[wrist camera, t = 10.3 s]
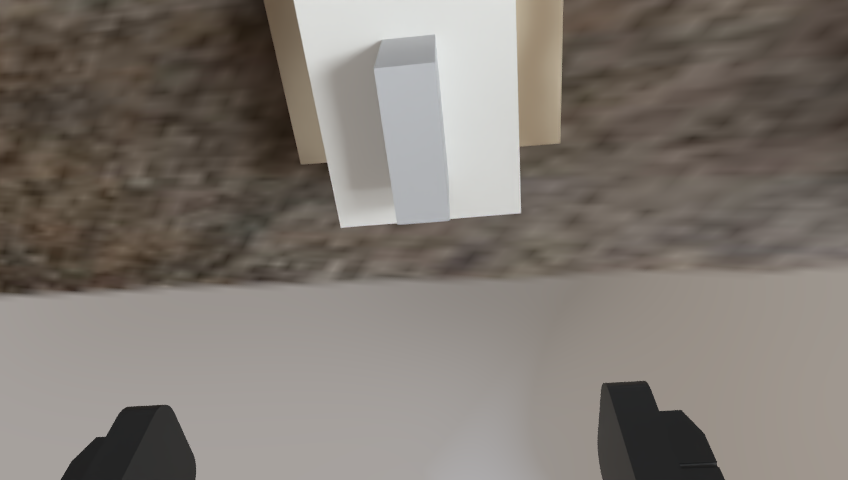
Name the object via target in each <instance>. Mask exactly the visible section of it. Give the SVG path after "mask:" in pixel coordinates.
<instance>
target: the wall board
mask: <svg viewBox="0 0 848 480" xmlns="http://www.w3.org/2000/svg"><path fill="white" fill-rule="evenodd" d="M264 4H265V9H266V13H267V17H268V22H269V26H270V31H271V35H272V40H273V44H274V48H275V53H276V57H277V62H278V66H279V70H280V75H281V79H282V84H283V88H284V92H285V97H286V101H287V106H288V110H289V114H290V119H291V123H292V128H293V132H294V136H295V141H296V145H297V150H298V154H299V159H300V163H301V165H303V164H315V163H327V159H326V154H325V149H324V144H323V140H322V135H321V130H320V125H319V120H318V116H317V111H316V106H315V101H314V96H313V92H312V87H311V82H310V77H309V72H308V68H307V63H306V58H305V53H304V48H303V44H302V39H301V34H300V29H299V24H298V20H297V15H296V10H295V5H294V0H264ZM516 32H517V72H518V112H519V147H522V146H534V145H546V144H558V143H560V133H561V85H562V37H563V0H516Z"/></svg>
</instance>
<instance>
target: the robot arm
mask: <svg viewBox="0 0 848 480" xmlns="http://www.w3.org/2000/svg"><path fill="white" fill-rule="evenodd" d="M598 456H599V464H600V469H601V474H602V478H603V480H725V479H724V477H723V475H722V472H721V470H720V468H719V467H717V461H716V459H715V457H714V454H713V452H712V450H711V448H710V446H709V443H708V441H707V439H706V437H705V434H704V433H703V432H702V431H701V430H700V429H699V428H698V427H697V426H696V425H695V424H694V423H693V422H692V421H691V420H690V419H689V418H688V417H687V416H686V415H685V414H684V413H683V412H682V410H675V411H659V410H658V407H657V405H656V402H655V399H654V396H653V394H652V391H651V389H650V387H649V385H648V383H647V382H646V381H636V382H617V383H603V385H602V389H601V399H600V413H599V427H598ZM195 477H196V463H195V459H194V455H193V453H192V451H191V448H190V446H189V444H188V442H187V440H186V438H185V435H184V433H183V431H182V429H181V426H180V424H179V422H178V420H177V418H176V415H175V413H174V411H173V410H172V408H171V407H170V406H168V405H153V406H136V407H135V406H134V407H126V408H125V409H123V410H122V411H121V412H120V413H119V415H118V417H117V418H116V420H115V422H114V423H113V425H112V427H111V429H110V431H109V432H108V434H107V436H106V437H96V438H95V439H94V440H93V441H92V442H91V443H90V444H89V445H88V446H87V447H86V448H85V449H84V450H83V451H82V452H81V453H80V454H79V455H78V456H77V457H76V458H75V459H74V460H73V461H72V462H71V463H70V465H69V467H68V468H67V470H66V472H65V473H64V475H63V477H62V478H61V480H195Z"/></svg>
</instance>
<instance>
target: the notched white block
mask: <svg viewBox="0 0 848 480" xmlns="http://www.w3.org/2000/svg"><path fill="white" fill-rule="evenodd" d="M294 5H295V10H296V15H297V20H298V24H299V29H300V34H301V39H302V44H303V48H304V53H305V58H306V63H307V68H308V72H309V77H310V82H311V87H312V92H313V96H314V101H315V106H316V111H317V116H318V120H319V125H320V130H321V135H322V140H323V144H324V149H325V154H326V159H327V164H328V168H329V173H330V178H331V183H332V188H333V192H334V197H335V202H336V207H337V212H338V216H339V221H340V226H341V228H343V227H356V226H368V225H381V224H393V223H397V225H402V224H415V223H427V222H440V221H450V219H455V218H468V217H480V216H492V215H505V214H517V213H521V193H520V153H519V112H518V72H517V32H516V0H294Z"/></svg>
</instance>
